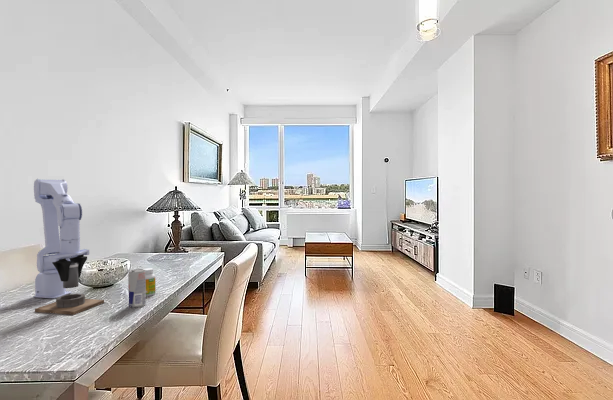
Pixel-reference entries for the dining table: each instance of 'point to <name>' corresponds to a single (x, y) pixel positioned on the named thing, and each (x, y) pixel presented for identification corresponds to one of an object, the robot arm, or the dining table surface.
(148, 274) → the supplement bottle
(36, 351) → the dining table surface
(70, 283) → the lens
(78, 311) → the mount
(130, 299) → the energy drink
